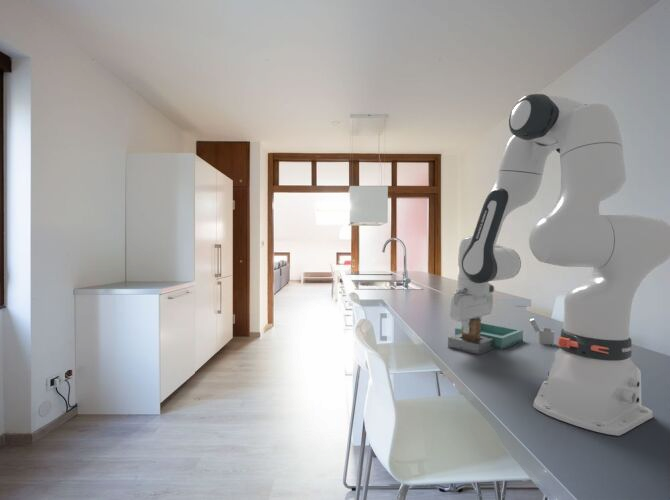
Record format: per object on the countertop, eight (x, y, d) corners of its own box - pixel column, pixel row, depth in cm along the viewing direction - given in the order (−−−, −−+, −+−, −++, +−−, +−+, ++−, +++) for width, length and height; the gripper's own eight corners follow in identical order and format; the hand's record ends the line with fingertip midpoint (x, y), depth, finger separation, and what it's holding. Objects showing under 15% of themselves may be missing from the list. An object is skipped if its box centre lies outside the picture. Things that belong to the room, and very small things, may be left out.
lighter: (552, 343, 116) (553, 319, 116) (553, 344, 114) (554, 320, 114) (528, 341, 118) (529, 317, 118) (529, 342, 117) (530, 318, 117)
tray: (501, 349, 108) (502, 338, 108) (454, 338, 120) (455, 328, 120) (522, 340, 119) (523, 330, 119) (477, 331, 131) (477, 321, 131)
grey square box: (478, 354, 103) (478, 344, 103) (447, 346, 110) (448, 337, 110) (494, 348, 109) (494, 338, 109) (464, 341, 117) (464, 332, 117)
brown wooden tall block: (473, 350, 107) (474, 317, 107) (461, 347, 110) (462, 315, 110) (480, 348, 110) (480, 315, 109) (468, 345, 113) (468, 313, 112)
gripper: (464, 291, 100) (463, 339, 100) (497, 286, 114) (495, 328, 114) (445, 289, 105) (444, 334, 105) (478, 284, 118) (477, 325, 119)
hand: (471, 331), depth 110 cm, fingers closed on brown wooden tall block, 4 cm apart
